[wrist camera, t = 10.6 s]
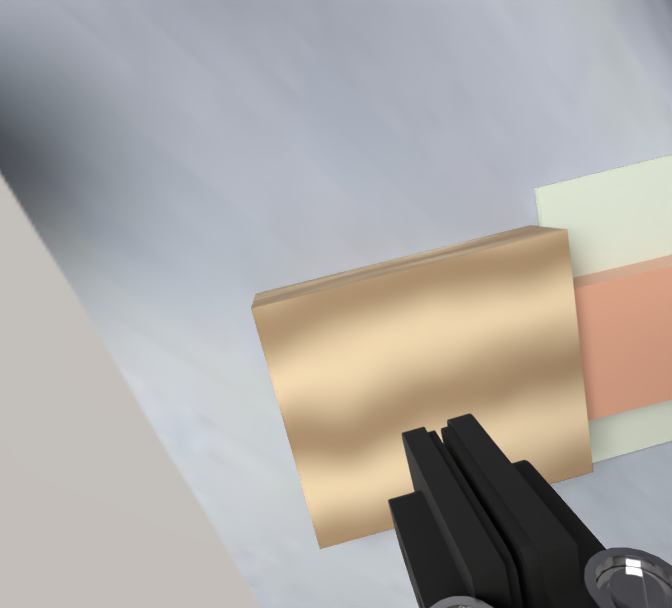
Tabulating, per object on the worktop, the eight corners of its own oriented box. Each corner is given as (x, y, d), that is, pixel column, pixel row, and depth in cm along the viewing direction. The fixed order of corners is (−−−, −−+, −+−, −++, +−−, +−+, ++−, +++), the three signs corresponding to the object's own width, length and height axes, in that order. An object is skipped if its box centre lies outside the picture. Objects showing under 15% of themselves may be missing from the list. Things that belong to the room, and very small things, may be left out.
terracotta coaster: (545, 284, 27) (566, 290, 25) (673, 254, 27) (703, 258, 25) (557, 408, 28) (577, 423, 26) (677, 378, 29) (705, 390, 27)
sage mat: (534, 188, 26) (538, 187, 25) (764, 132, 26) (771, 130, 26) (568, 465, 30) (572, 468, 30) (764, 410, 31) (771, 412, 30)
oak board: (255, 294, 25) (251, 308, 22) (530, 225, 26) (567, 229, 23) (315, 507, 29) (319, 549, 25) (557, 440, 29) (593, 471, 26)
